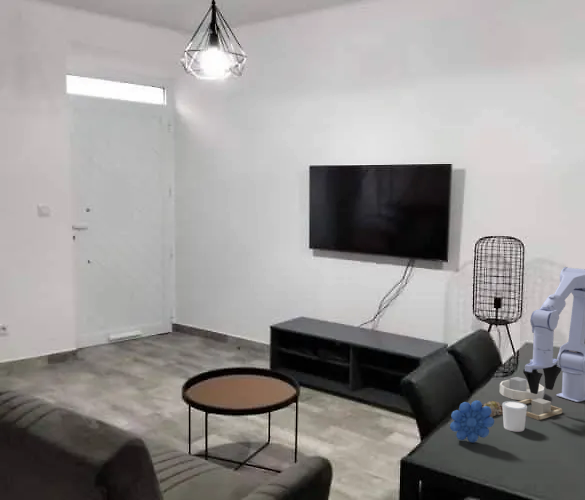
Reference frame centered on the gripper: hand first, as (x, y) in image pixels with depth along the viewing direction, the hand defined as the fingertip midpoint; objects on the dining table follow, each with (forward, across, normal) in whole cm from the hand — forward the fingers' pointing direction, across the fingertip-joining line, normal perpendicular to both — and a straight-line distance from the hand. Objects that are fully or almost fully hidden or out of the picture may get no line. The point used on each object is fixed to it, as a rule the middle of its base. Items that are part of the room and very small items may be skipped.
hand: (541, 391), depth 185 cm
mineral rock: (+8, +13, -9) cm, 18 cm away
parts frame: (+7, 0, -2) cm, 8 cm away
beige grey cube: (+7, 0, 0) cm, 7 cm away
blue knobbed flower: (+7, +35, +4) cm, 36 cm away
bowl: (+7, -11, -15) cm, 20 cm away
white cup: (+7, +17, +4) cm, 19 cm away
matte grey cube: (+6, -12, -17) cm, 22 cm away
